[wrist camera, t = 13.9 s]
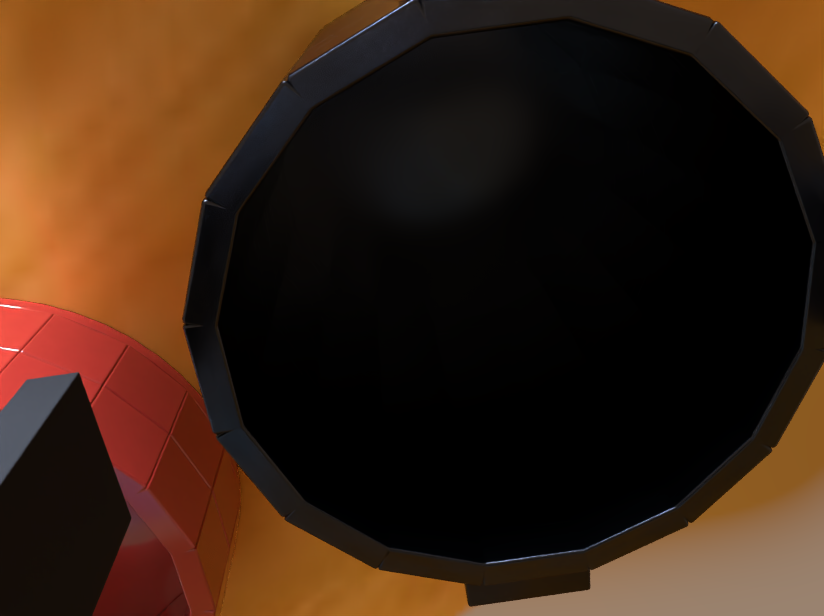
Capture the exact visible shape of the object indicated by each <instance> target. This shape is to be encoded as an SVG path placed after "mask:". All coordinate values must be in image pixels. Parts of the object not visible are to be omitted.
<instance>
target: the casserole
mask: <svg viewBox="0 0 824 616" xmlns="http://www.w3.org/2000/svg"><path fill="white" fill-rule="evenodd" d="M76 372H79V373H80V376H81V379H82V382H83V385H84V387H85V390H86V393H87V396H88V398H89V401H90V404H91V407H92V410H93V412H94V415H95V418H96V421H97V423H98V426H99V429H100V432H101V435H102V437H103V440H104V443H105V446H106V448H107V451H108V454H109V457H110V459H111V462H112V465H113V468H114V471H115V473H116V476H117V479H118V482H119V484H120V487H121V490H122V493H123V496H124V498H125V501H126V504H127V507H128V509H129V512H130V515H131V518H132V519H131V522H130V524H129V526H128V529H127V531H126V534H125V536H124V539H123V541H122V544H121V546H120V549H119V551H118V553H117V556H116V558H115V561H114V563H113V566H112V568H111V571H110V573H109V576H108V578H107V580H106V583H105V585H104V588H103V590H102V593H101V595H100V598H99V600H98V603H97V605H96V607H95V610H94V612H93V615H92V616H221V611H222V606H223V601H224V597H225V593H226V588H227V583H228V579H229V574H230V570H231V565H232V560H233V556H234V551H235V545H236V537H237V530H238V524H239V517H240V510H241V487H240V480H239V474H238V469H237V464H236V462H235V460H234V459H233V458H232V457H231V456H230V455H229V453H228V452H227V451H226V450H225V449H224V447H223V446H222V445H221V444H220V443H219V441H218V440H217V439H216V436H215V435H216V434H214V433H213V431H212V428H211V425H210V421H209V418H208V414H207V411H206V407H205V404H204V400H203V398H202V397H201V396H200V394H199V393H198V392H197V391H196V390H195V389H194V388H193V387H192V386H191V385H190V384H189V383H188V382H187V381H186V379H185V378H184V377H183V376H182V375H181V374H180V373H178V372H177V371H176V370H175V369H174V368H172V367H171V366H170V365H169V364H168V363H166V362H165V361H164V360H163V359H162V358H161V357H159V356H158V355H157V354H155V353H154V352H152V351H151V350H149V349H147V348H146V347H144V346H143V345H141V344H140V343H138V342H137V341H135V340H134V339H132V338H130V337H128V336H126V335H125V334H123V333H121V332H119V331H117V330H115V329H113V328H111V327H109V326H107V325H105V324H103V323H100V322H98V321H95V320H92V319H90V318H87V317H84V316H82V315H79V314H77V313H74V312H71V311H67V310H63V309H59V308H56V307H52V306H48V305H44V304H40V303H33V302H27V301H20V300H14V299H3V298H0V412H1V411H2V409H3V408H4V407H5V406H6V405H7V403H8V402H9V401H10V400H11V398H12V397H13V396H14V395H15V393H16V392H17V391H18V390H19V389H20V387H21V386H22V385H23V384H24V382H25V381H26V380H27V379H34V378H41V377H48V376H55V375H62V374H69V373H76Z"/></svg>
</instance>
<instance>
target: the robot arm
mask: <svg viewBox="0 0 824 616" xmlns="http://www.w3.org/2000/svg"><path fill="white" fill-rule="evenodd" d="M131 519H132V518H131V515H130V512H129V509H128V507H127V504H126V501H125V498H124V496H123V493H122V490H121V487H120V484H119V482H118V479H117V476H116V473H115V471H114V468H113V465H112V462H111V459H110V457H109V454H108V451H107V448H106V446H105V443H104V440H103V437H102V435H101V432H100V429H99V426H98V423H97V421H96V418H95V415H94V412H93V410H92V407H91V404H90V401H89V398H88V396H87V393H86V390H85V387H84V385H83V382H82V379H81V376H80V373H79V372H76V373H69V374H62V375H55V376H48V377H41V378H34V379H27V380H26V381H25V382H24V384H23V385H22V386H21V387H20V389H19V390H18V391H17V392H16V393H15V395H14V396H13V397H12V398H11V400H10V401H9V402H8V403H7V405H6V406H5V407H4V408H3V409H2V411H1V412H0V616H92V615H93V612H94V610H95V607H96V605H97V603H98V600H99V598H100V595H101V593H102V590H103V588H104V585H105V583H106V580H107V578H108V576H109V573H110V571H111V568H112V566H113V563H114V561H115V558H116V556H117V553H118V551H119V549H120V546H121V544H122V541H123V539H124V536H125V534H126V531H127V529H128V526H129V524H130V522H131Z"/></svg>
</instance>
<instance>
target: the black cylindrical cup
mask: <svg viewBox="0 0 824 616" xmlns="http://www.w3.org/2000/svg"><path fill="white" fill-rule="evenodd" d="M808 115H809V112H808V111H807V110H806V109H805V108H804V107H803V106H802V105H801V104H800V103H799V102H798V101H797V100H796V99H795V98H794V97H793V96H792V95H791V94H790V93H789V92H788V91H787V90H786V89H785V88H784V87H783V86H782V85H781V84H780V83H779V82H778V81H777V80H776V79H775V78H774V77H773V76H772V75H771V74H770V73H769V72H768V71H767V70H766V69H765V68H764V67H763V66H762V65H761V64H760V63H759V62H758V61H757V60H756V59H755V58H754V57H753V56H752V55H751V54H750V53H749V52H748V51H747V50H746V49H745V48H744V47H743V46H742V45H741V44H740V43H739V42H738V41H737V40H736V39H735V38H734V37H733V36H732V35H731V34H730V33H729V32H728V30H727V29H726V28H725V27H724V26H723V25H722V24H721V23H720V22H717V21H713V20H712V19H711V18H710V17H708V16H705V15H702V14H698V13H695V12H692V11H689V10H686V9H683V8H680V7H677V6H673V5H670V4H667V3H664V2H661V1H658V0H365V1H364V2H362V3H361V4H359V5H357V6H356V7H354V8H353V9H351V10H349V11H348V12H346V13H345V14H343V15H341V16H340V17H338V18H337V19H335V20H333V21H332V22H330V23H329V24H327V25H325V26H324V27H323V29H321V30H320V31H319V32H318V34H317V35H316V36H315V38H314V39H313V40H312V42H311V43H310V44H309V46H308V47H307V48H306V50H305V51H304V52H303V54H302V55H301V56H300V58H299V59H298V60H297V62H296V63H295V64H294V66H293V67H292V68H291V69H290V71H289V72H288V73H287V75H286V76H285V77H284V79H283V80H282V81H281V83H280V84H279V86H278V87H277V89H276V90H275V92H274V93H273V94H272V96H271V97H270V99H269V100H268V102H267V103H266V105H265V106H264V108H263V109H262V111H261V112H260V114H259V115H258V116H257V118H256V119H255V121H254V122H253V124H252V125H251V127H250V128H249V130H248V131H247V133H246V134H245V135H244V137H243V138H242V140H241V141H240V143H239V144H238V146H237V147H236V149H235V150H234V152H233V153H232V154H231V156H230V157H229V159H228V160H227V162H226V163H225V165H224V166H223V168H222V169H221V171H220V172H219V174H218V175H217V176H216V178H215V179H214V181H213V182H212V184H211V185H210V187H209V188H208V190H207V191H206V193H205V198H204V200H203V201H202V204H201V210H200V216H199V222H198V228H197V234H196V240H195V246H194V252H193V258H192V264H191V270H190V276H189V282H188V288H187V294H186V300H185V306H184V312H183V318H182V320H183V323H184V325H183V330H184V334H185V337H186V341H187V344H188V348H189V351H190V355H191V358H192V362H193V365H194V369H195V372H196V376H197V379H198V383H199V386H200V390H201V393H202V397H203V400H204V404H205V407H206V411H207V414H208V418H209V421H210V425H211V428H212V431H213V433H214V434H216V435H215V436H216V439H217V440H218V441H219V443H220V444H221V445H222V446H223V447H224V449H225V450H226V451H227V452H228V453H229V455H230V456H231V457H232V458H233V459H234V460H235V462H236V463H237V464H238V465H239V466H240V468H241V469H242V470H243V471H244V472H245V474H246V475H247V476H248V477H249V478H250V480H251V481H252V482H253V483H254V484H255V485H256V487H257V488H258V489H259V490H260V491H261V493H262V494H263V495H264V496H265V497H266V499H267V500H268V501H269V502H270V503H271V504H272V506H273V507H274V508H275V509H276V510H277V512H278V513H279V514H280V515H281V516H282V517H285V520H286V521H287V522H289V523H291V524H293V525H295V526H297V527H298V528H300V529H302V530H304V531H306V532H308V533H310V534H311V535H313V536H315V537H317V538H319V539H321V540H323V541H324V542H326V543H328V544H330V545H332V546H334V547H336V548H338V549H339V550H341V551H343V552H345V553H347V554H349V555H351V556H352V557H354V558H356V559H358V560H360V561H362V562H364V563H365V564H367V565H369V566H371V567H373V568H375V569H376V568H379V570H383V571H389V572H396V573H402V574H408V575H414V576H420V577H427V578H433V579H439V580H445V581H451V582H458V583H464V584H465V589H466V595H467V601H468V605H469V606H478V605H485V604H492V603H498V602H506V601H513V600H520V599H527V598H533V597H541V596H548V595H555V594H562V593H569V592H576V591H583V590H588V589H590V569H591V570H593V569H595V568H598V567H600V566H602V565H604V564H606V563H609V562H611V561H613V560H615V559H617V558H619V557H621V556H624V555H626V554H628V553H630V552H632V551H635V550H637V549H639V548H641V547H643V546H646V545H648V544H650V543H652V542H654V541H656V540H658V539H661V538H663V537H665V536H667V535H669V534H672V533H674V532H676V531H678V530H680V529H682V528H685V527H687V526H688V522H690V523H692V522H694V521H695V520H696V519H697V518H698V517H699V516H700V515H701V514H702V513H704V512H705V511H706V510H707V509H708V508H709V507H710V506H711V505H713V504H714V503H715V502H716V501H717V500H718V499H719V498H721V497H722V496H723V495H724V494H725V493H726V492H727V491H728V490H729V489H731V488H732V487H733V486H734V485H735V484H736V483H737V482H738V481H740V480H741V479H742V478H743V477H744V476H745V475H746V474H747V473H748V472H750V471H751V470H752V469H753V468H754V467H755V466H756V465H757V464H759V463H760V462H761V461H762V460H763V459H764V458H765V457H766V456H768V455H769V454H770V453H771V452H772V449H771V447H772V448H773V447H775V446H777V444H778V442H779V440H780V438H781V437H782V435H783V433H784V431H785V430H786V428H787V426H788V424H789V423H790V421H791V419H792V417H793V416H794V414H795V412H796V410H797V409H798V407H799V405H800V403H801V401H802V400H803V398H804V396H805V395H806V393H807V391H808V389H809V387H810V385H811V384H812V382H813V380H814V379H815V377H816V375H817V373H818V372H819V370H820V368H821V366H822V365H823V363H824V156H823V153H822V149H821V146H820V143H819V140H818V137H817V133H816V130H815V127H814V124H813V121H812V118H811V117H810V116H808Z"/></svg>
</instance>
